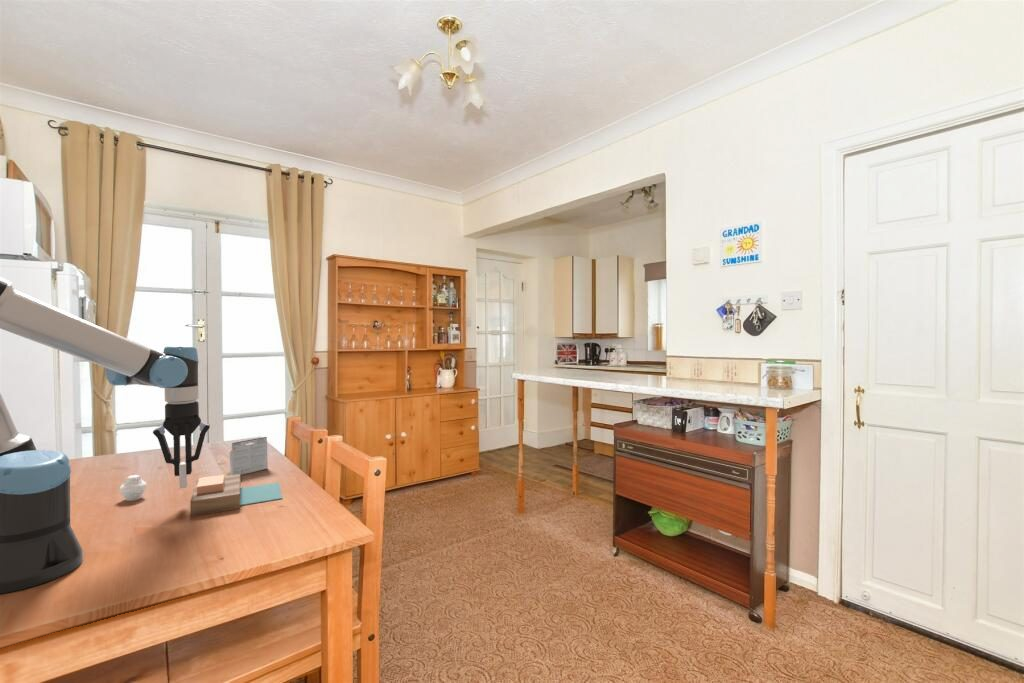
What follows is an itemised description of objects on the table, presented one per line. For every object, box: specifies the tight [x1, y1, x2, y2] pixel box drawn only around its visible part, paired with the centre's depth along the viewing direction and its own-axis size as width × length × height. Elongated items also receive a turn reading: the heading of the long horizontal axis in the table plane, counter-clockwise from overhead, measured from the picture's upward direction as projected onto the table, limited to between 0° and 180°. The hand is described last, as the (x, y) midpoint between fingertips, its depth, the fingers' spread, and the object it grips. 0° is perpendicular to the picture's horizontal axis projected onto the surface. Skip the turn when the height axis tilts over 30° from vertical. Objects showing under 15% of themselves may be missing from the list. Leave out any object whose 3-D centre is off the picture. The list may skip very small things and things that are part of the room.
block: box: [197, 474, 225, 494], centre depth 128 cm, size 9×6×2 cm, turn 31°
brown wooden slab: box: [189, 474, 241, 518], centre depth 129 cm, size 20×11×4 cm, turn 31°
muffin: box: [118, 474, 148, 502], centre depth 130 cm, size 6×6×7 cm
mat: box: [240, 481, 283, 507], centre depth 134 cm, size 16×11×1 cm
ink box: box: [229, 436, 269, 476], centre depth 155 cm, size 12×2×12 cm, turn 141°
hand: (183, 486), depth 125 cm, fingers closed
